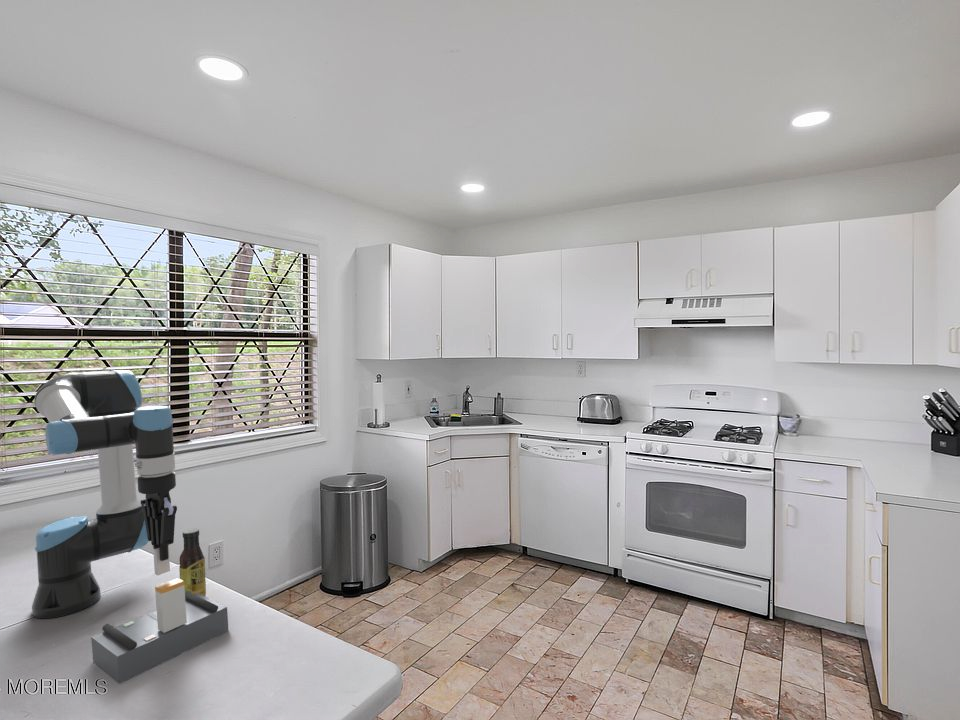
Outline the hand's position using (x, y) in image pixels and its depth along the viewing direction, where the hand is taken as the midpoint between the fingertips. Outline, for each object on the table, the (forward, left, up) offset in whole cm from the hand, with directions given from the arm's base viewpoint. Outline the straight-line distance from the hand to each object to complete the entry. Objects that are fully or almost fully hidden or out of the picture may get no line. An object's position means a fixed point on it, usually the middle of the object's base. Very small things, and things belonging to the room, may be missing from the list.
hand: (162, 572), depth 124 cm
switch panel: (-2, 0, -18) cm, 18 cm away
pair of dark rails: (-2, 0, -12) cm, 12 cm away
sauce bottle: (-18, +15, -18) cm, 29 cm away
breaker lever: (+4, 0, -12) cm, 13 cm away
